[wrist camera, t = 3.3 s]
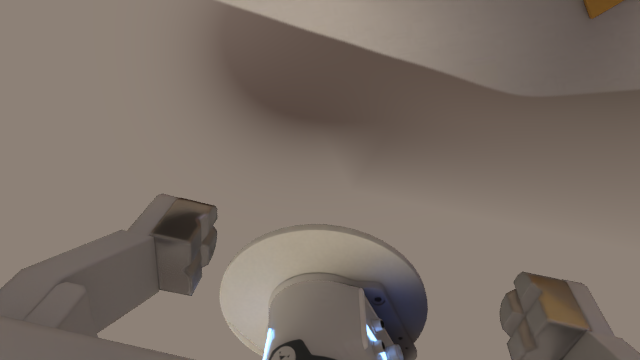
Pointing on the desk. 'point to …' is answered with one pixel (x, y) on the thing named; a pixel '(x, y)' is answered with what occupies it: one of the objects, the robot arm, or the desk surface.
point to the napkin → (599, 6)
